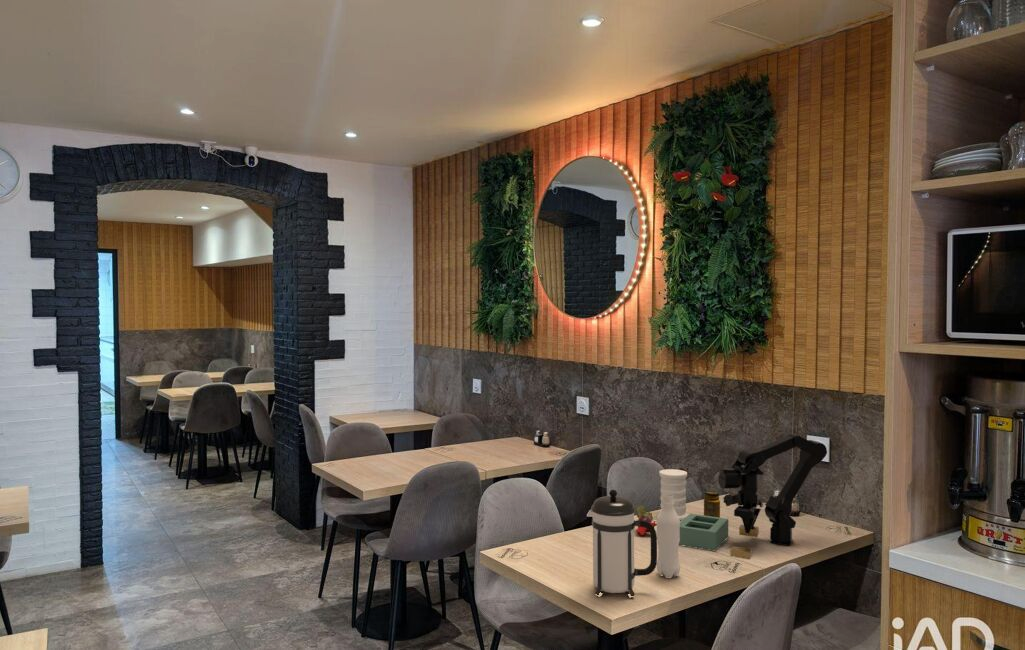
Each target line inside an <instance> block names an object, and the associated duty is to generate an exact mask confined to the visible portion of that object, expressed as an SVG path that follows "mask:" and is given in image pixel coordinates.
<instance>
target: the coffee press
mask: <svg viewBox="0 0 1025 650" xmlns="http://www.w3.org/2000/svg"><path fill="white" fill-rule="evenodd" d="M608 494H609V495H606V496H601V497H597V498H596V499H595V500H594V501H593V504H592V505H591V506H590V507H591V508H590V510H588V512H587V514H586V517H587V518H588V517H591V518H592V519H591V526H592V567H593V568H592V571H593V572H592V576H593V577H592V582H593V585H594V586H595V588H596V590H595V593H594V595H595V594H597V595H599V593H600V592H601V593H603V594H604V593H611V594H621V593H622V594H623V593H625V595H626V596H627V595H628V594H631V596H634V595H635V596H636V594H635V592H634V589H633V588H634V587H635V577H637V576H639V577H640V576H648V575H650V574H652V573H653V572H654V571H655V569H657V561H658V541H657V530H656V529H655V527H653V525H652V524H651V523H652V522H651V523H649V522H647V521H644V520H640V521H637V520H635V513H636V507H635V505H634V503H633V501H631V500H630V499H628V498H627V497H624V496H618V492H617V490H615V489H611V490H610V491H609V493H608ZM638 526H641V527H645V528H647V529H648V530H649V532H648V533H649V535H650V562H649V565H648V566H647V567H646V568H635V528H636V527H638Z"/></svg>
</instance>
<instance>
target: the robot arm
mask: <svg viewBox="0 0 1025 650" xmlns="http://www.w3.org/2000/svg"><path fill="white" fill-rule="evenodd" d="M794 448H797V449H799V450H800V451H799V457H798V458H799V460H798V462H797V463H796V466H795V467H794V469H793V471H792V472H791V474H790V475H789V477H788V479H787V481H786V482H785V484H784V485H783V487H782V489H781V490H780V492H779V493H778V495H776V496H773V495H770V497H769V498H768V501H767V502H766V503H765V504H764V500H763V499H762V497H758V495H759V492H760V490H759V488H758V487H759V486H758V483H759V482H758V476H761V475H764V472H763V471H762V470H761V469H760V467H762V466H763V465H764V464H765V463H766V461H768V460H769V459H771V458H774V457H775V456H778V455H781V454H782V453H785V452H787V451H790V450H792V449H794ZM827 454H828V449H827V446H826V445H825V444H824V443H821V442H819V441H816V440H813V439H812V440H811V439H806V438H804V437H803V436H800V435H798V434H795V433H789V434H788V435H786V436H784V437H783V438H780V439H777V440H775V441H773V442H771V443H767V444H765V445H763V446H761V447H754V448H748V449H743V450H741V451H740V452H739V453H738V457H737V459H736V460H735V462H734V463H733V465H732V466H731V468H723V467H722V468H721V471H720V472H719V474H718V476H717V480H718V485H719V487H720V488H721V489H723V490H725V489H739V490H738V492H733V493H728V494H725V496H723V503H724V504H725V507H730V506H731V505H737V507H736V508H735V509H734V511H733V516H734V517H738V518H739V517H740V519H741V520H742V521H741V522H742V525H744V528H745V531H746V533H749V532H750V530H751V527H752V526H755V524H756V521H757V519H758V516H759V515H760V512H761V511H762V509H761V508H763V507H764V506H765V508H764V512H765V515H766V517H767V518H768V520H769V522H770V523H772V524H771V527H770V529H769V530H770V531H769V532H770V534H769V535H770V536H769V537H770V539H769V540H770V543H771V544H774V545H775V544H776V545H782V546H787V547H788V546H789V547H790V546H791V545H792V543H793V542H794V539H793V529H795V527H796V524H797V521H796V520H794V519H793V518H792V517H791V513H792V512H793V511H792V509H793V501H794V499H795V498H796V497H797V494H798V493H799V492H800V489H801V487H802V486H803V484H804V482H805V481H806V479H807V478H808V476H809V474H810V472H811V471H812V469H813V468H814V467H816V466H818V465H819V464H820V463H822V461H823V460H824V459H825V457H826V456H827ZM758 506H759V508H758Z"/></svg>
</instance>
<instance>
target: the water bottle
mask: <svg viewBox="0 0 1025 650" xmlns="http://www.w3.org/2000/svg"><path fill="white" fill-rule="evenodd" d="M662 503H663V507H662V509H660V511H659V512H660V513H659V512H658V515H657V517H656V521H655V522H656V523H655V524H657V526H656V536H657V550H658V552H657V564H656V571H657V573H658V575H659V574H660V575H663V576H664V577H665V578H666V577H671V578H673V577H674V576H677V577H678V576H679V575H680V571H681V563H680V559H679V546H680V545H679V541H680V522H681V521H680V520H679V517H678V515H677V513H676V511H675V509H674V506H673V504H674V502H673V495H670V494H664V495H663V502H662ZM660 575H659V576H660ZM673 575H674V576H673Z"/></svg>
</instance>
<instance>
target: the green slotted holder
mask: <svg viewBox="0 0 1025 650" xmlns="http://www.w3.org/2000/svg"><path fill="white" fill-rule="evenodd" d="M727 537H728V538H729V518H725V517H720V518H719V517H712V516H705V515H704V514H703V515H702V514H698V513H697V514H696V513H689V514H688V516H687V517H686V518H684V519H683V520H682V521H680V541H679V545H678V546H681V545H685V546H684V547H687V546H691V547H690V548H693V547H697V548H696V549H699V548H703V549H702V550H705V549H710V550H715V551H714V552H717V550H718V549H719V548H720V547H721V546H722V544H723V543H725V541H726V540H727V539H728V538H727ZM726 538H727V539H726ZM725 539H726V540H725ZM720 545H721V546H720ZM719 546H720V547H719ZM718 547H719V548H718ZM717 548H718V549H717ZM716 549H717V550H716ZM710 550H709V551H710Z"/></svg>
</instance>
